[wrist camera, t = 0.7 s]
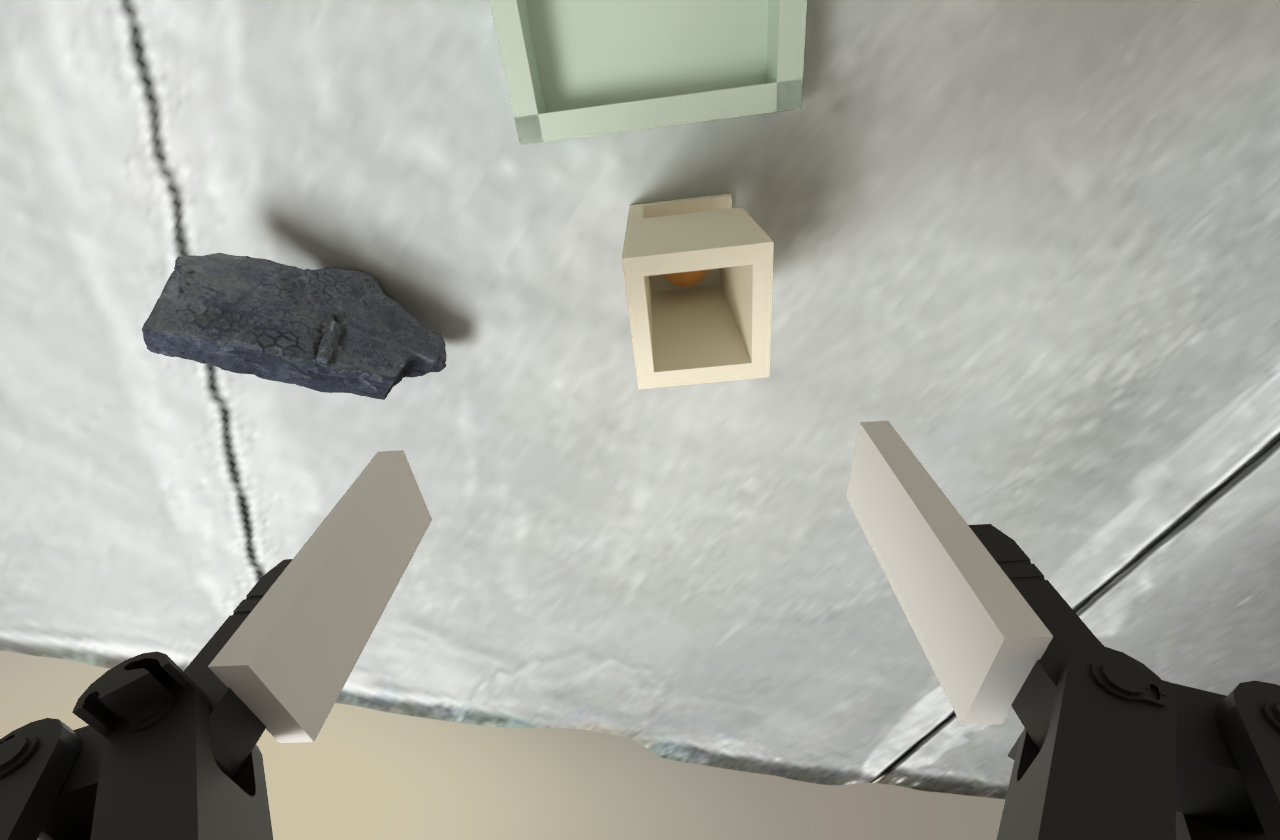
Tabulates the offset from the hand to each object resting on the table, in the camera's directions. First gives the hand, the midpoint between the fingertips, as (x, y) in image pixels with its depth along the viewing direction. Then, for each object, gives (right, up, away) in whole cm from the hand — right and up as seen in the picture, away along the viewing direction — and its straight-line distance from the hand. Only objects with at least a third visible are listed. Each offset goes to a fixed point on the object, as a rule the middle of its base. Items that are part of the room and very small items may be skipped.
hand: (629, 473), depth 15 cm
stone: (-19, +10, +19) cm, 28 cm away
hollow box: (+3, +12, +17) cm, 21 cm away
